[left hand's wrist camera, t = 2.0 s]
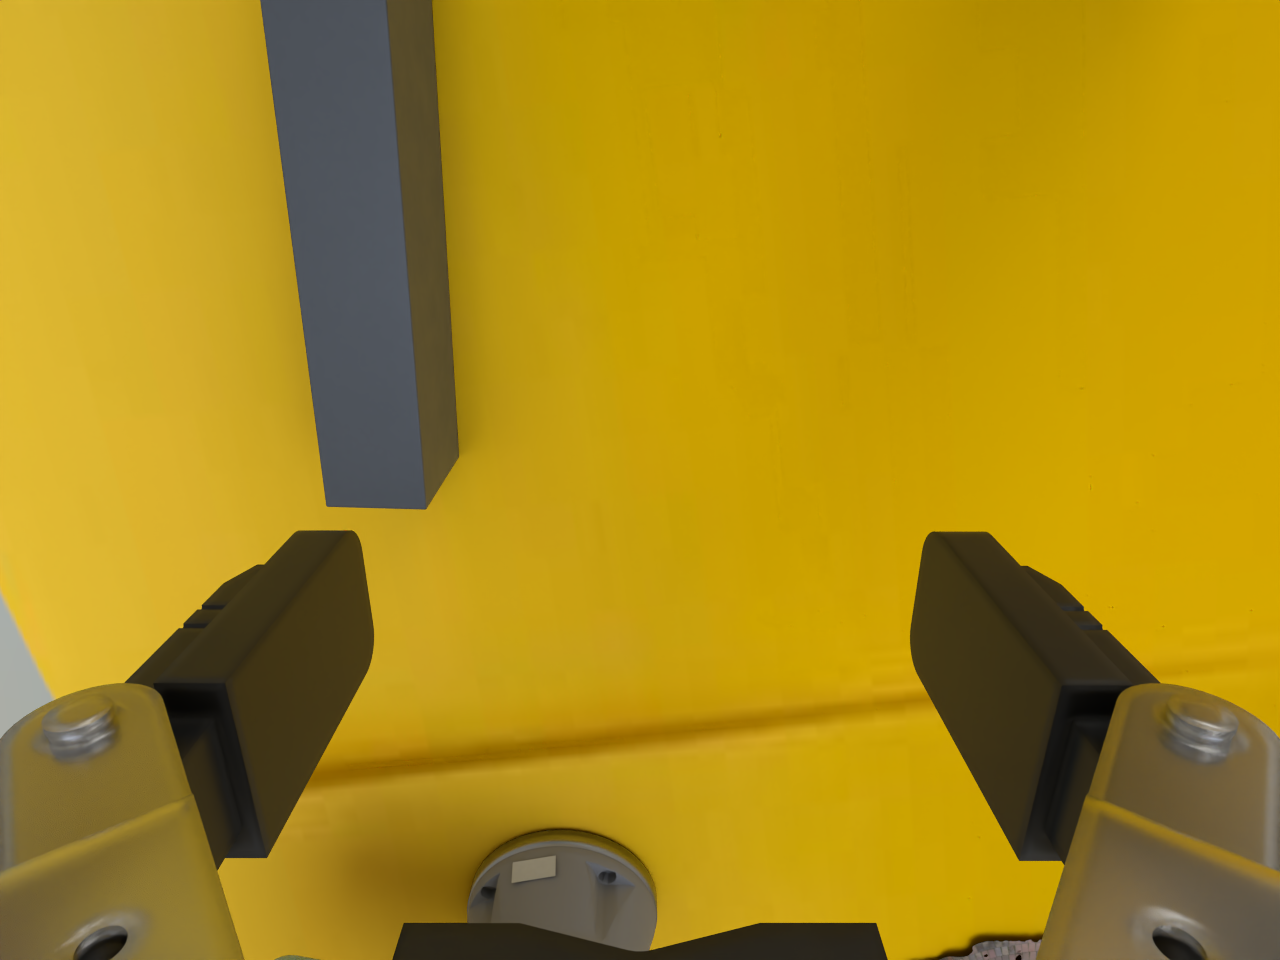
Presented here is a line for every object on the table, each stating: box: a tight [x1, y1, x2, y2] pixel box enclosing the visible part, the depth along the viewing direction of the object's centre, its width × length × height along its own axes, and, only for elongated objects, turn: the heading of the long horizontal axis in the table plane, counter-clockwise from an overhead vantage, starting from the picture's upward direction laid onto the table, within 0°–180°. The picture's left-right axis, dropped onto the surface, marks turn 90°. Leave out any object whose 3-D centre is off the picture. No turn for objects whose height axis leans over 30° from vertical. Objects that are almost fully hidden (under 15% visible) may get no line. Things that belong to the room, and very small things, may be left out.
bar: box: [260, 0, 459, 509], centre depth 41 cm, size 28×5×8 cm, turn 178°
